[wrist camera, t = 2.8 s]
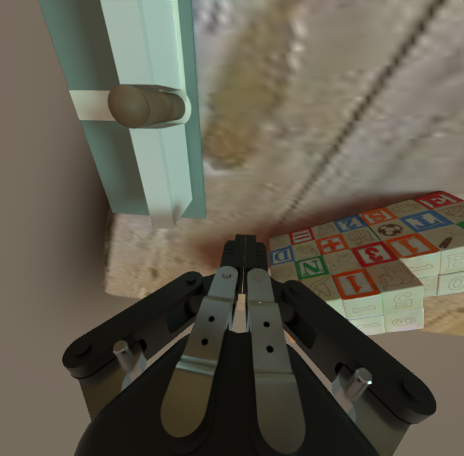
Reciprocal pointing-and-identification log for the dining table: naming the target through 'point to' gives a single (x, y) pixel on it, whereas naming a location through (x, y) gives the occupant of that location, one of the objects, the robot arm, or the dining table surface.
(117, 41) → the panel
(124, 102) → the brown rounded rod
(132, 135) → the panel
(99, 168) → the board
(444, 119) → the dining table surface
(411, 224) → the stack of blocks
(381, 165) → the dining table surface
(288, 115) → the dining table surface
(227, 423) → the robot arm
